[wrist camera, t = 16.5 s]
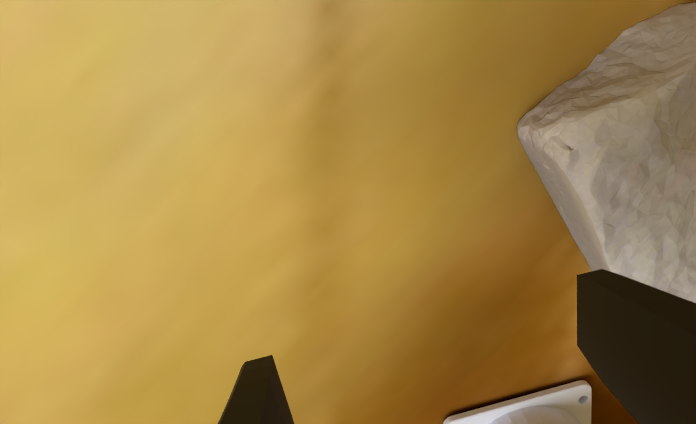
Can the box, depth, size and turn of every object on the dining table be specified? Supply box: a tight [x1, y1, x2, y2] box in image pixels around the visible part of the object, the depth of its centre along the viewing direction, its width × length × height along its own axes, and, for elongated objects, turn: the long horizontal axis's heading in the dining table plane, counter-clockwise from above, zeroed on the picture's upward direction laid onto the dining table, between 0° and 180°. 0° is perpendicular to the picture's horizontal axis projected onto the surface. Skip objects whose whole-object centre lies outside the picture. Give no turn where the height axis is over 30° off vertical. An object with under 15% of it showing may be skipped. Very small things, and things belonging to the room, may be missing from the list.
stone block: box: [517, 2, 696, 303], centre depth 21 cm, size 12×5×10 cm
